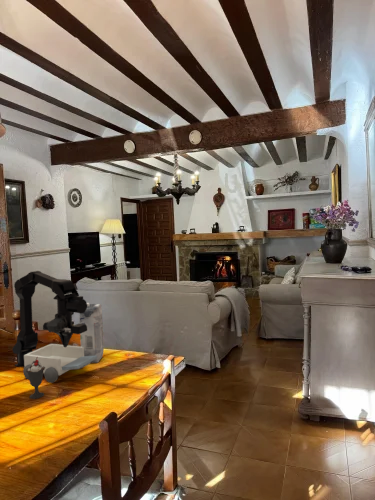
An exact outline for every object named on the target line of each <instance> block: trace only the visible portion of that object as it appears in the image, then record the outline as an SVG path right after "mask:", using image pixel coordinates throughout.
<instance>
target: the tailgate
mask: <svg viewBox="0 0 375 500" xmlns="http://www.w3.org/2000/svg"><path fill="white" fill-rule="evenodd" d="M95 359H97V355H95V356H83V357H80V358H78V359H76V360H74V361H72V362H70V363H68V364H67V365H65V366H63V367H62V370H68V371H70V370H79V369H83V368H84V367H86V366H88V365H90V364H92V363H91V361H93V360H95Z"/></svg>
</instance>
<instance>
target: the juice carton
mask: <svg viewBox="0 0 375 500" xmlns="http://www.w3.org/2000/svg"><path fill="white" fill-rule="evenodd" d="M86 303H87V309H86V311H85V312H84V313H79V324H86V325H87V331H85V332H83V333H81V334H79V335H80V338H79V339H80V347H84V356H95V355H97V359H95V360H93V361H91V363H90V364H98V363H99V362H100V360H101V359H102V358H103V355H104V330H103V329H104V326H103V311H102V310H103V309H102V303H90V302H86Z"/></svg>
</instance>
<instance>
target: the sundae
mask: <svg viewBox="0 0 375 500" xmlns="http://www.w3.org/2000/svg"><path fill="white" fill-rule="evenodd" d="M37 358H38V357H37ZM44 369H45V367H44V366H43V365H41V363H40V362H39V361H38V360H37V359H36V360H35V361H33V363H32V364H31V366H30V367H29V368H27V369H26V372H27V373H28V375H29V379H28V380H29V383H30V385H31V387H33V388H34V393H32V394H30V395H29V399H32V400H36V399H40V398H42V397H43V396H45V393H44V392H40V390H39V386H41V384H42V383H43V378H44V377H43V376H44V373H43V370H44Z"/></svg>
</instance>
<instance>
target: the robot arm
mask: <svg viewBox="0 0 375 500" xmlns="http://www.w3.org/2000/svg"><path fill="white" fill-rule="evenodd" d="M38 284H39V285H42V286H45V287H46V288H49V289H51V292H52V293H53V294H55V296H54V297H53V300H55V301H56V304H57V305H56V306H57V307H56V308H57V310H56V311H57V312H56V313H55V315H54V318H53V319H51V320H49V321H46V322H44V323H43V325H42V330H43V331H48V333H54V334H56V335H58V337H59V339H60V341H61V345H63V346H64V347H67V345H69V343H70V341H71V338H72V336H73V335H80V334H81V333H83V332H85V331H87V325H86V324H80V323H77V324H75V321H73V315H75V314H80V313H84V312H85V311H86V309H87V303H88V302H87V301H86V300H85V299H84V296H82V295H80V294H79V292H78V289H76V286H75V285H74V282H73V281H72V280H71V279H65V278H62V279H61V278H56V277H53V276H51V275H48V274H46V273H45V272H44V273H43V272H42V271H39V270H35V271H33V270H32V271H30V272H28V273H27V274H26V275H24V276H22V277H20V278H18V279H17V280H16V281H15V282H14V284H13V285H14V286H13V287H14V292H15V293H14V294H16V296H17V297H18V299H19V316H20V317H19V319H20V321H19V322H20V329H19V330H20V331H19V332H18V334H17V337H16V343H15V344H14V346H13V347H12V352H13V354H15V355H16V358H17V363H15V364H14V366H15V367H20V368H24V355H25V354H28V353H30V352H33V351H35V350H37V345H38V342H39V337H38V336H39V335H38V332H35V330H34V327H33V305H32V303H33V302H32V298H33V295H34V294H35V292H36V286H37V285H38Z"/></svg>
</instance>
